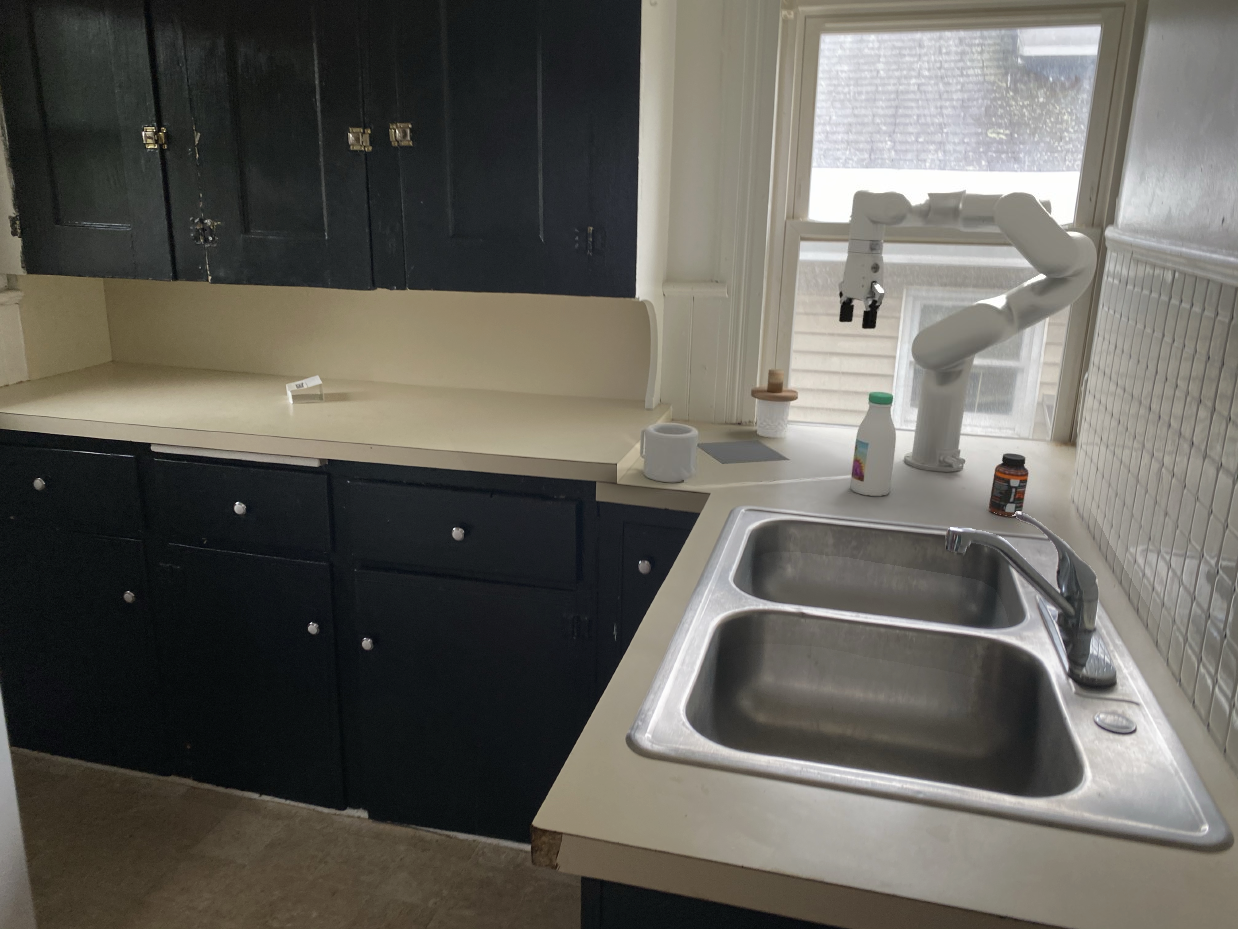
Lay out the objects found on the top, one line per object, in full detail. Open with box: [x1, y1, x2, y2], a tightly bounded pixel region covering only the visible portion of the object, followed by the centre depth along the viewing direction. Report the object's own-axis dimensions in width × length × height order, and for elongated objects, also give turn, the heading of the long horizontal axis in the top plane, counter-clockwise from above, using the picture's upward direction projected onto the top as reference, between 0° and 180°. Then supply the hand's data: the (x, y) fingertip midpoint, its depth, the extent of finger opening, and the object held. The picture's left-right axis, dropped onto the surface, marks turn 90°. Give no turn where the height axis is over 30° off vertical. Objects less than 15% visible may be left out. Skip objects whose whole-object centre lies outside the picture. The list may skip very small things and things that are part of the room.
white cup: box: [756, 399, 792, 439], centre depth 229 cm, size 8×8×10 cm
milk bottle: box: [850, 391, 897, 497], centre depth 190 cm, size 8×8×20 cm
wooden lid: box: [750, 368, 799, 402], centre depth 227 cm, size 11×11×6 cm
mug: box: [639, 422, 699, 484], centre depth 197 cm, size 14×11×10 cm
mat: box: [697, 439, 791, 465], centre depth 214 cm, size 16×16×1 cm
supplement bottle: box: [988, 452, 1029, 518], centre depth 181 cm, size 6×6×11 cm
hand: (856, 325), depth 217 cm, fingers open, 9 cm apart
